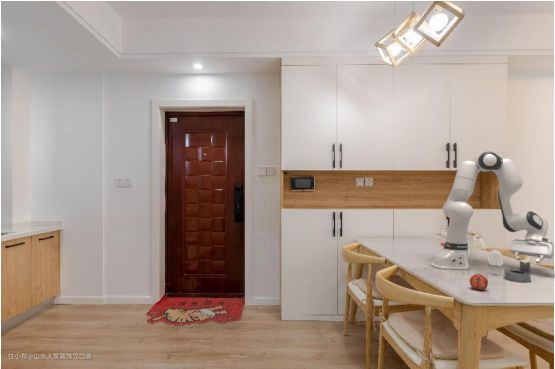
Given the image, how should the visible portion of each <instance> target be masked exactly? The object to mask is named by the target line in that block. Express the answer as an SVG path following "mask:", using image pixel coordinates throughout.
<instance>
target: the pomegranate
mask: <svg viewBox="0 0 555 369" xmlns="http://www.w3.org/2000/svg"><path fill="white" fill-rule="evenodd" d="M488 283H489V282H488V278H487V277H485V276H483V275H482V274H481V273H475V274H474V275H471V276H470V278H469V284H470V286H471V288H473V289H474V290H479V291H484V290H486V289H487V287H488Z"/></svg>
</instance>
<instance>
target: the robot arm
mask: <svg viewBox="0 0 555 369" xmlns="http://www.w3.org/2000/svg"><path fill="white" fill-rule="evenodd" d="M490 171H492V172H493V173H495V175H496V177H497V179H498V183H499V189H498V191H497V197H498V203H499V207H500V211H501V216H502V226H503V228H504V229H505V230H507V231H508V232H510V233H515V232H519V231H527V232H526V234H525V237H524V239H517V238H515V239H514V240H511V244H510V245H509V248H508V251H509V252H510V253H511V254H513V255H515V259H516V260H515V261H519V262H520V261H521V256H528V257H533V258H534V257H535V258H536V260H535V263H536V264H541V262H542V261H543V260H545V259H548V260H549V259H550V260H551V259H553V258H554V254H555V251H554V244H553V241H552V239H550V238H547V237H545V236H547V233H548V230H549V229H548V228H549V222H548V220H547V219H546V217H544V216H541V215H538V214H537V213H536V212H534V211H523V212H520V213H513V209H512V205H511V197H512V196H513V195H515V194H516V193H517V192H519V190H521V188H522V187H523V183H524V182H523V178H522V175H521V173H520V171H519V169H518V166H516V164H515V163H514V161H513V160H512V159H511V158H502V157H501V156H499V155H498V154H497V153H495V152H493V151H484V152H482V153H480V154H478V155H477V156H476V157H475V158H474V159H473V160H463V161H461V162H460V164H459V167H458V168H457V171H456V173H455V177H454V181H453V184H452V189H451V190H450V193H449V195H448V197H447V200H446V202H444V204H443V206H442V212H443V214H444V215H445V216H446V217H448V218H449V222H448V227H447V228H446V241H445V242H442V241H441V242H440V243H439V244H440V246H442V247H443V248H442V249H441V250H439V251H438V252H436V253H435V254H434V256H433V259H432V261H431V262H429V263H428V264H429V266H431V267H433V268H436V269H440V270H463V271H464V270H465V271H466V270H469V269H470V268H471V267H470V262H469V258H468V257H469V256H468V250H469V243H468V229H469V225H470V222H471V218H472V217H473V215H474V209H473V207H472V206H471V205H470V204H469V203H467V202H468V201H469V199H470V197H471V196H472V195H473V194H474V188H475V185H476V181H477V176H478V174H479V173H486V172H490Z"/></svg>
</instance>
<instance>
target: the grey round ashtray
mask: <svg viewBox="0 0 555 369" xmlns="http://www.w3.org/2000/svg"><path fill="white" fill-rule="evenodd" d="M503 271H504V273H503V274H504V275H503V278H504V279H505V280H506V281H510V282H514V283H523V284H524V283H530V282H532V280H531V278H532V277H531V275H532V274H531V272H530V273H529V272H526V271H522V270H520V269H513V268H512V269H511V268H510V269H508V268H507V269H505V270H503Z"/></svg>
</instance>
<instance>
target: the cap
mask: <svg viewBox="0 0 555 369" xmlns="http://www.w3.org/2000/svg"><path fill="white" fill-rule="evenodd" d="M519 270H522V271H526V272H529V273H531V261H529V260H520V261H519Z"/></svg>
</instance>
